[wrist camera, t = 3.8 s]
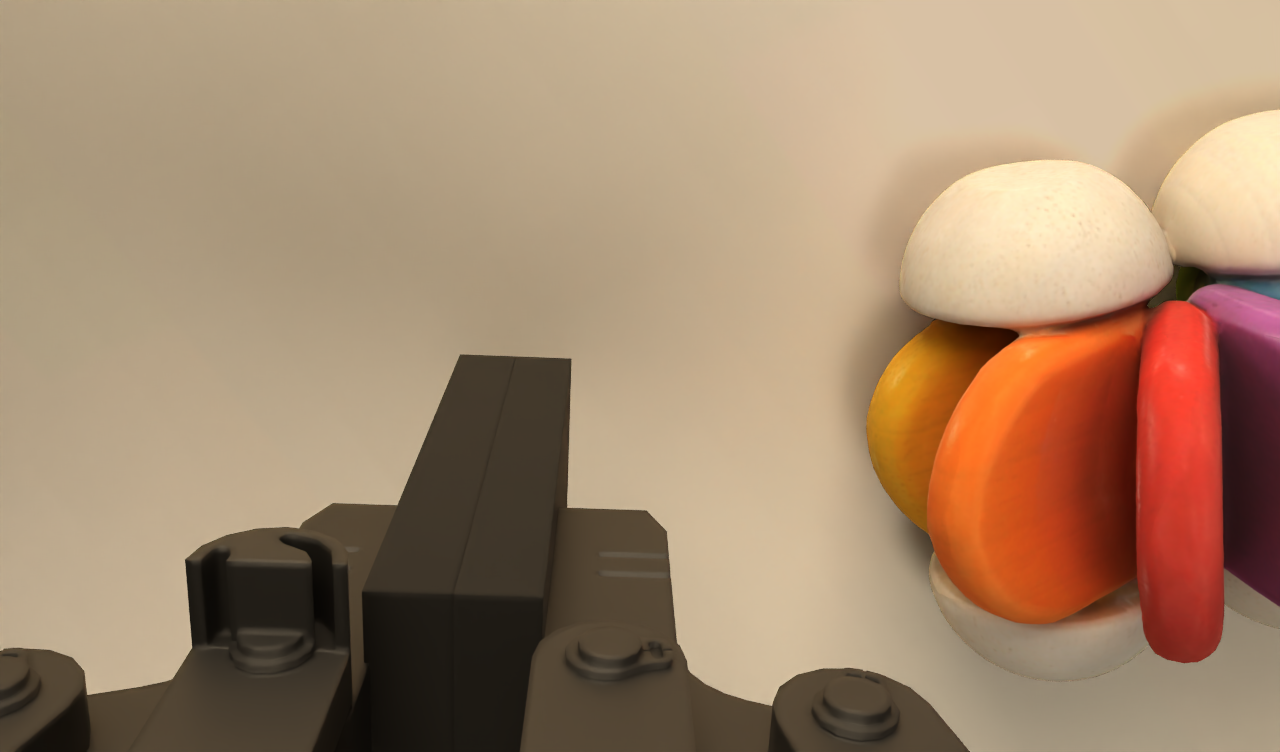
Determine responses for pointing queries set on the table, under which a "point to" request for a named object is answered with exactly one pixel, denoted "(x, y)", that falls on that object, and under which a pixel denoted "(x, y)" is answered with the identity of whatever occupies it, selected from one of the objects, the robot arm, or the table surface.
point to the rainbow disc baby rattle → (1094, 406)
